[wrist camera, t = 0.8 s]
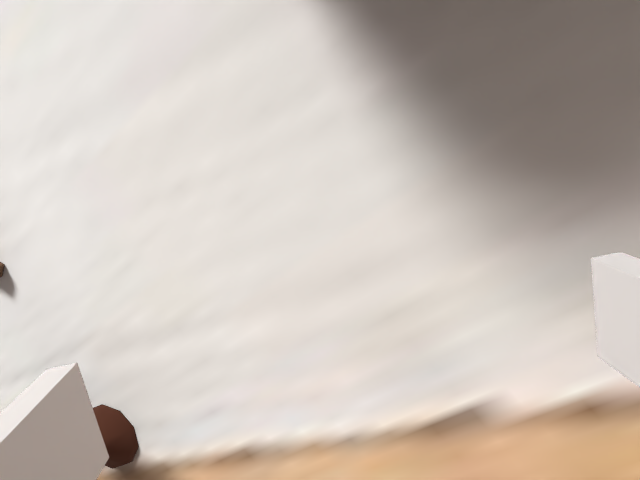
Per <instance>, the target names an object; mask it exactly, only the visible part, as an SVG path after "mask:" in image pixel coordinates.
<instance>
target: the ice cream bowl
mask: <svg viewBox="0 0 640 480" xmlns="http://www.w3.org/2000/svg"><path fill="white" fill-rule="evenodd" d="M93 411H94V414H95V417H96V420H97V423H98V426H99V429H100V431H101V434H102V437H103V440H104V443H105V446H106V449H107V452H108V455H109V459H108V460H107V462H106V464H105V466H108V467H110V468H116V467H119V466H122V465H125V464H128V463H130V462H132V461H133V458H134V456H135V454H136V451H137V449H138V443H137V439H136V435H135V431H134V427H133V426H132V425H131V423H130V422H129V421H128V420H127V419H126V418H125V417H124V415H123V414H122V413H121V412H120V411H119V410H116V409H113V408H110V407H108V406H105V405H99V406H97V407H94V408H93Z"/></svg>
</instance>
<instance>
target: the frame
mask: <svg viewBox="0 0 640 480" xmlns="http://www.w3.org/2000/svg"><path fill="white" fill-rule="evenodd" d="M3 268H4V264H3V263H1V262H0V277H2V274H3Z"/></svg>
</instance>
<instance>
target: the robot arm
mask: <svg viewBox="0 0 640 480" xmlns="http://www.w3.org/2000/svg"><path fill="white" fill-rule="evenodd" d="M591 267H592V281H593V296H594V310H595V325H596V339H597V354H598V357H599V358H600V359H601V360H603V361H604V362H605V363H607V364H608V365H610V366H611V367H612V368H614V369H615V370H616V371H618V372H619V373H620V374H622V375H623V376H625V377H626V378H627V379H629V380H630V381H631V382H633V383H634V384H635V385H637V386H638V387H640V259H639V258H636V257H633V256H630V255H628V254H625V253H622V252H618V253H613V254H608V255H603V256H598V257H593V258H591ZM108 459H109V455H108V452H107V449H106V446H105V443H104V440H103V437H102V434H101V431H100V429H99V426H98V423H97V420H96V417H95V414H94V411H93V408H92V405H91V402H90V399H89V396H88V393H87V390H86V387H85V384H84V381H83V378H82V375H81V373H80V370H79V367H78V364H77V363H73V364H68V365H63V366H59V367H54V368H49V369H46V370H45V371H44V372H43V373H42V374H41V375H40V376H39V377H38V378H37V379H36V380H35V381H34V382H32V383H31V384H30V385H29V386H28V387H27V388H26V389H25V390H24V391H23V392H22V393H21V394H20V395H19V396H18V397H17V398H15V399H14V400H13V401H12V402H11V403H10V404H9V405H8V406H7V407H6V408H5V409H4V410H3V411H2V412H1V413H0V480H96V479H97V478H98V476H99V474H100V472H101V471H102V469H103V467H104V466H105V464H106V462H107V460H108Z"/></svg>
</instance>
